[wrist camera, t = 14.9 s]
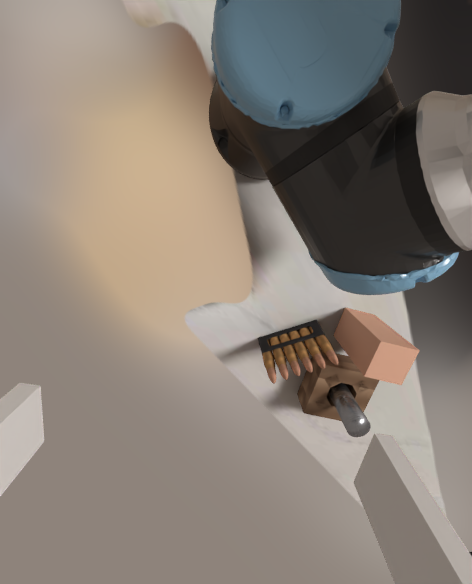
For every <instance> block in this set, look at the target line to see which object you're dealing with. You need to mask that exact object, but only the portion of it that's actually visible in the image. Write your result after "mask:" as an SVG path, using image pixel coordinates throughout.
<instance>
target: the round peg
mask: <svg viewBox="0 0 472 584" xmlns="http://www.w3.org/2000/svg"><path fill="white" fill-rule="evenodd" d="M328 394H329V396H330V398H331V400H332V402H333V404H334V406H335V408H336V410H337V412H338V414H339V416H340V418H341V420H342V422H343V424H344V426H345V428H346V430H347V432H348V434H349V435H351V436H353V437H361V436H363V435H365V434H367V433H368V432H369V430H370V423H369V421H368V420H367V418H366V416H365V415H364V413H363V412H362V410H361V408H360V407H359V405H358V403H357V402H356V400H355V399H354V397H353V395H352V394H351V392H350V390H349V389H348V387H347V386H346V384H345V383H339V384H337V385H335V386H333V387H331V388H330V389H329V392H328Z"/></svg>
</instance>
